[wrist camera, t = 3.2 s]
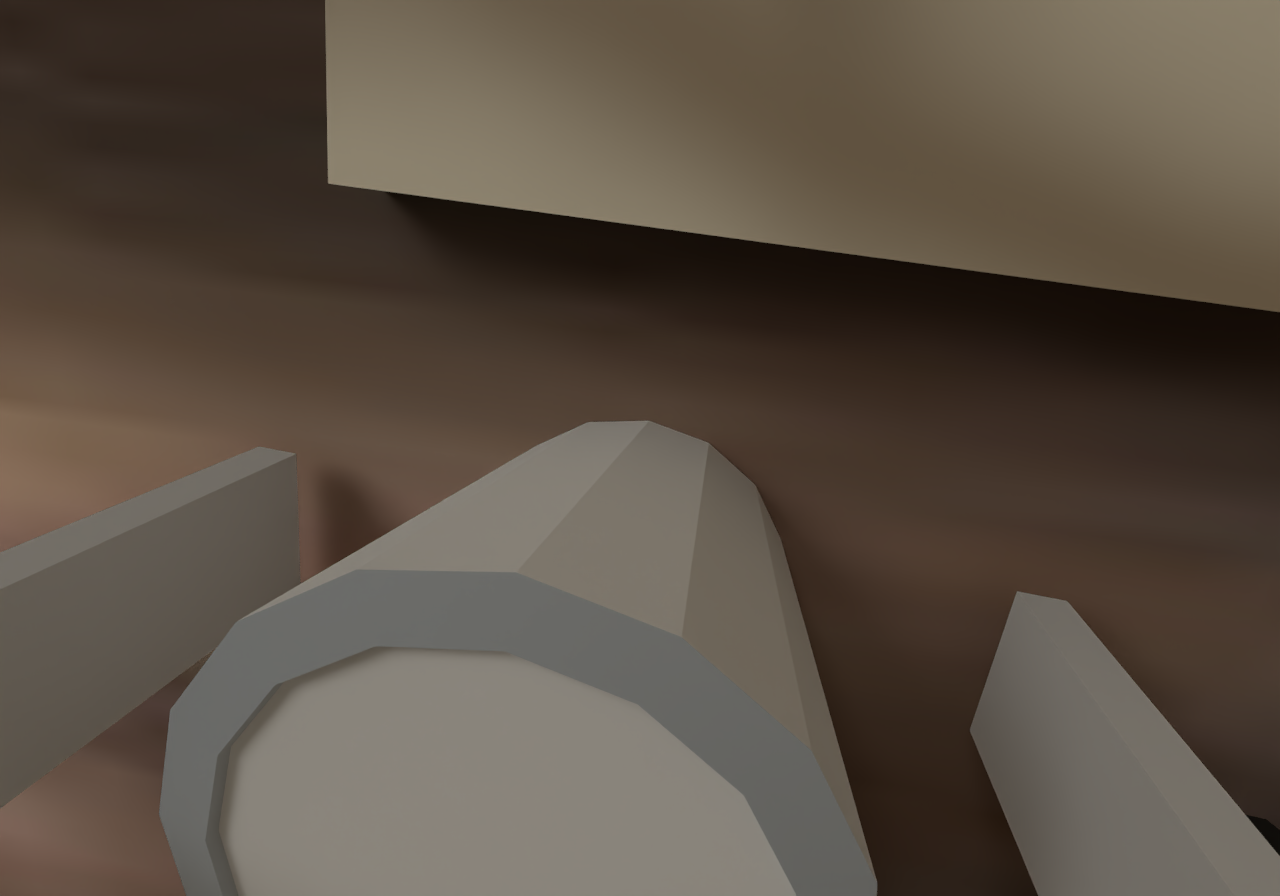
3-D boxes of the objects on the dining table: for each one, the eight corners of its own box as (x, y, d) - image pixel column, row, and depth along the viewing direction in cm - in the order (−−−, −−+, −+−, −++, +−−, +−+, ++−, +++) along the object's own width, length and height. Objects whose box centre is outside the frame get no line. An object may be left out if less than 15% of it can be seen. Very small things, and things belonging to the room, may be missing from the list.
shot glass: (554, 308, 12) (275, 402, 5) (900, 518, 12) (1080, 888, 5) (404, 603, 14) (77, 934, 7) (693, 777, 14) (627, 1263, 7)
